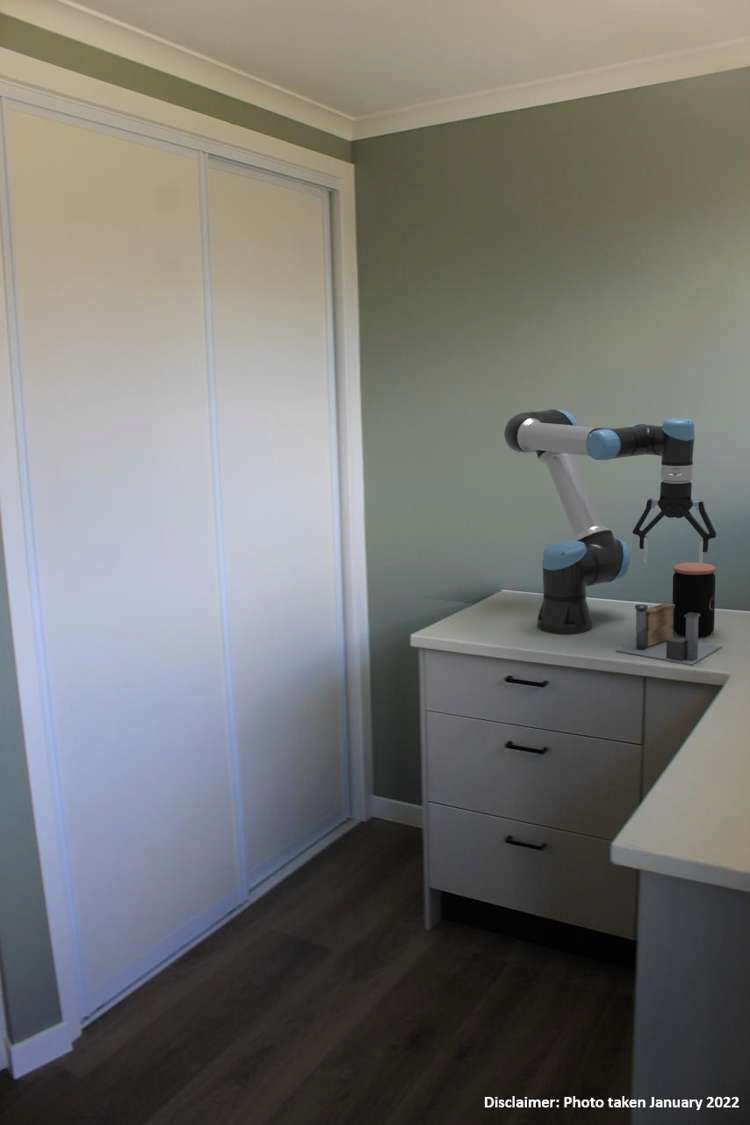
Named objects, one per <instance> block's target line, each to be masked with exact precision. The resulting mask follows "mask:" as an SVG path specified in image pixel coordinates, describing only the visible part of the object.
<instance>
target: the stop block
mask: <svg viewBox="0 0 750 1125" xmlns="http://www.w3.org/2000/svg"><path fill="white" fill-rule="evenodd" d="M685 652H686V639H681V638H676V637H675V638H674V637H673V638H670V639H668V640H667V648H666V658H668V659H674V660H679V661H683V660H685Z"/></svg>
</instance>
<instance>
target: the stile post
mask: <svg viewBox="0 0 750 1125" xmlns="http://www.w3.org/2000/svg"><path fill="white" fill-rule="evenodd" d="M699 616H700V614H699V613H692V612H689V613H687V614H685V615H684V617H685V618H686V637H685V640H686V652H685V659H686V660H692V661H694V660H695V659H697V658H698V642H699V637H698V617H699Z"/></svg>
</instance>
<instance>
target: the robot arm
mask: <svg viewBox="0 0 750 1125" xmlns="http://www.w3.org/2000/svg"><path fill="white" fill-rule="evenodd" d="M503 435H504V436H503V437H504V441H505V442H506V444H507V446H508V447H509V448H510V449H511V450H513V451H515V452H517V453H536V456H537V458H538V460H539V462H540V463H542V464H545V465H546V467H547V469H548V472H549V474H550V476H551V479H552V482H553V484H554V486H555V489H556V492H557V495H558V497H559V500H560V503H561V505H562V507H563V508H562V509H563V510H564V512H565V515H566V517H567V520H568V522H569V524H570V528H571V530H572V533H573V535H574V539H573V540H567V541H559V542H555V543H552V544H549V545H548V546H546V548H545V549H543V552H542V553H543V554H542V562H541V565H542V577H543V578H542V585H543V586H542V592H543V594H542V595H543V598H542V599H543V600H542V603H541V605H540V609H539V612H538V616H537V629H539V630H541V631H543V632H546V633H552V634H562V635H564V634H567V635H568V634H571V635H572V634H579V633H584V632H588V631H590V630H592V629H593V622H594V621H593V620H594V619H593V617H592V614H591V611H590V608H589V604H588V602H587V587H589V586H595V585H600V584H603V583H612V582H613V581H616V580H619V579H622V577H624V576H625V575H626V573H627V572H628V570H629V566H630V564H631V553H630V550H629V548H628V545H627V543H625V541H624V540H623V541H622V539H619V538H616V537H615V536H614V534H613V531H612V529H611V528H608V527H606V526H604V524H603V521H602V519H601V516H600V513H599V511H598V508H597V506H596V504H595V501H594V498H593V497H592V496H593V495H592V493H591V491H590V489H589V487H588V486H589V485H588V484H587V481H586V479H585V476H584V473H583V471H582V470H581V466H580V464H579V462H578V459H577V457H576V455H578V456H588V457H591V458H592V460H596V461H610V460H613V459H619V458H621V459H622V458H627V457H629V458H630V457H636V456H645V455H647V456H648V455H649V456H650V455H651V456H659V457H661V462H660V464H661V467H660V468H661V469H660V480H662V481H661V482H660V487H659V490H660V492H659V499H658V500H656V499H653V498H651V497H650V498H647V501H646V505H645V509H644V511H643V513H642V514H641V516H640V518H639V520H638V521H637V522H636V524H635V526H634V529H633V530H632V534H633V535H635V536H636V535H637V536H638V537H639V544H638V545H639V547H638V548H639V549H640V550H643V558H642V559H643V560H642V562H643V563H647V562H648V559H649V558H648V557H649V556H648V553H649V535H647V534H648V533H649V532H650V531H651V530H652V529H653V528H654V527H655V526H656V525H657V524H658V522H660V521H661V520H662V518H664V517H666V518H668V519H672V518H676V519H681V518H684V519H685V520H687V521H688V523H689V524H690V525H691V526H692V527H693V528H694V530H695V531H696V532H697V533H698V535H699V536H700V537H701V538H699V539H700V540H699V551H698V552H699V553H698V554H699V555H698V563H699V566H702V563H704V562H703V561H704V553H708V550H709V540H711V539H715V538H716V537H717V532H716V529H715V527H714V525H713V523H712V521H711V519H710V517H709V515H708V513H707V510H706V509H705V501H704V499H700V500H696V501H693V500H692V491H693V490H692V488H693V486H692V485H693V483H692V482H691V481H692V480H693V472H694V471H693V468H694V461H693V460H694V458H693V457H694V447H695V446H694V445H695V444H694V443H695V438H696V435H695V424H694V421H693V420H692V419H690V418H667V419H665V420H663V422H662V426H661V425H652V424H651V425H650V424H646V423H641V424H640V423H639V424H637V423H635V424H631V425H629V426H627V427H617V428H606V427H595V426H585V425H578V422H577V420H576V419H575V417H574V416H573V414H571V413H570V412H569V411H566V410H563V409H547V410H541V411H526V412H520V413H517V414H515V415H514V416H512V417H511V418H510V419H509V420H508V421H507V422H506V425H505V427H504V432H503ZM656 506H658V508H659V509H660V510H661V511H660V512H659V513H658V514H656V516H655V517H654V518H653V519H652V520H651V521H650V522H649V523H648V524H647V525H646V526H645V527H644V528H643V529H642V530H641V527H642V526H643V524H644V522H645V521H646V519H647V517H648V516H649V513H651V510H652V509H654V508H656ZM693 507H694V508H695V509H696V511H697V510H698V512H699V514H700V516H701V519H702V522H703V523H704V525H705V527H706V529H707V531H708V532H707V531H706V530H705V529H704V528H703V526H701V524H700V523H699V522H698V521H697V520H696V518H695V517H694V516H693V514H692V513H691V511H690V510H691V509H692V508H693Z"/></svg>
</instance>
